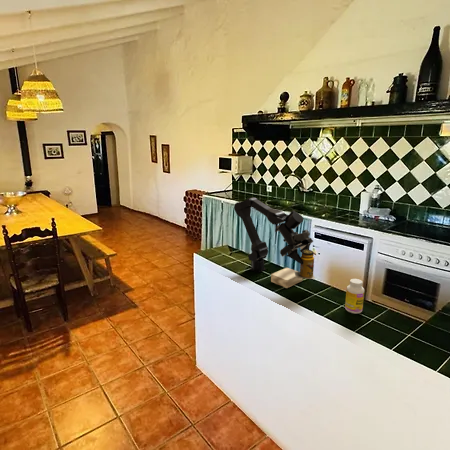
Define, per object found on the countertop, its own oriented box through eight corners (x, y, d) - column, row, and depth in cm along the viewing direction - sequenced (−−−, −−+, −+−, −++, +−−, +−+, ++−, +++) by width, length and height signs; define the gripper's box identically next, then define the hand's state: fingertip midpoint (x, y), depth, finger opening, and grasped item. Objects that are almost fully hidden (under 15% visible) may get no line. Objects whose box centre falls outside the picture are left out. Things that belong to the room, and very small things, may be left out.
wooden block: (271, 281, 158) (271, 274, 157) (286, 274, 165) (286, 267, 164) (287, 288, 150) (287, 280, 149) (302, 280, 158) (302, 273, 157)
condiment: (315, 279, 144) (316, 254, 141) (296, 278, 145) (297, 253, 142) (312, 272, 151) (313, 248, 148) (294, 272, 152) (295, 248, 149)
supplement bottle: (355, 316, 126) (358, 286, 122) (341, 308, 131) (343, 280, 128) (365, 311, 129) (368, 281, 126) (351, 304, 134) (354, 276, 131)
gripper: (285, 228, 140) (305, 259, 135) (310, 221, 151) (330, 248, 146) (271, 241, 148) (290, 270, 142) (296, 233, 159) (314, 260, 154)
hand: (306, 262), depth 146 cm, fingers closed on condiment, 6 cm apart
